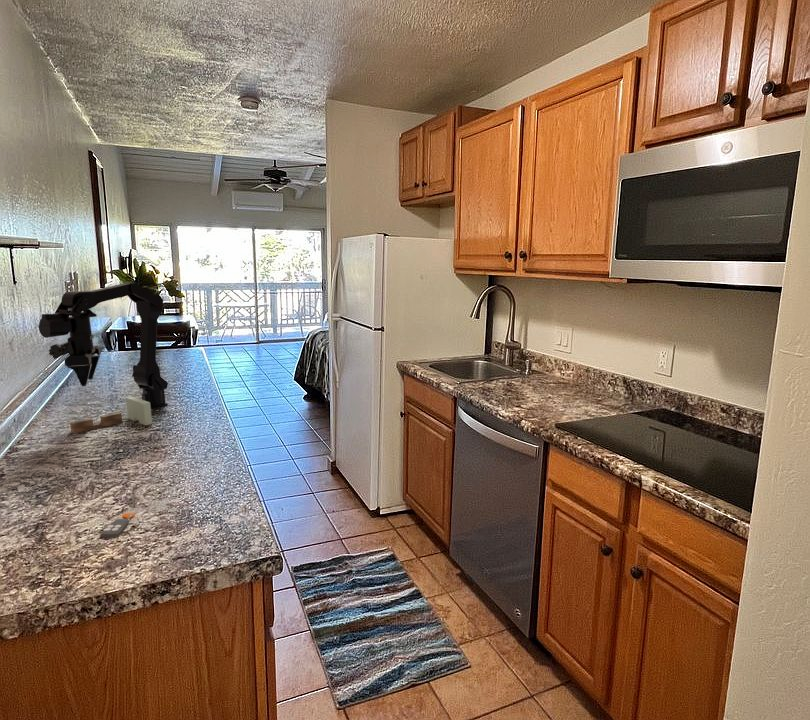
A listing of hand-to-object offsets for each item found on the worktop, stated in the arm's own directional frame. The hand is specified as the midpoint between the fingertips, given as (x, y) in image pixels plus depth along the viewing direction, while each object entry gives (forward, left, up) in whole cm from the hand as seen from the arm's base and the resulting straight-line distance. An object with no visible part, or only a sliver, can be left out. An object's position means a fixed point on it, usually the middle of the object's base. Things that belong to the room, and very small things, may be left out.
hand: (87, 382), depth 162 cm
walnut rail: (+1, +5, -13) cm, 14 cm away
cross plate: (-10, +9, -13) cm, 19 cm away
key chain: (+23, +72, -14) cm, 77 cm away
